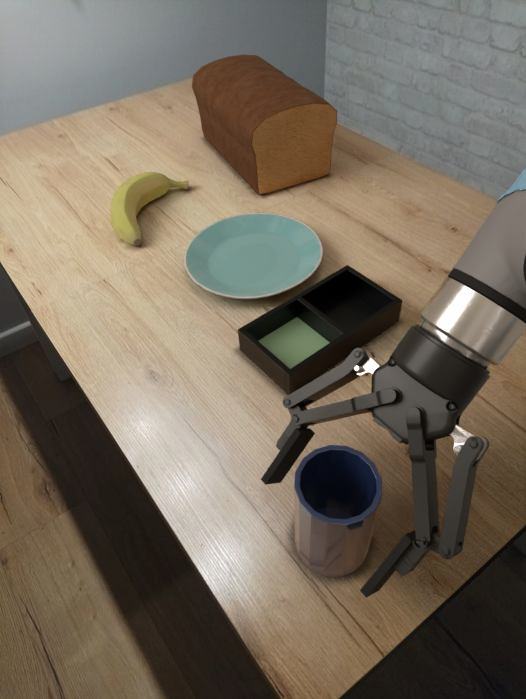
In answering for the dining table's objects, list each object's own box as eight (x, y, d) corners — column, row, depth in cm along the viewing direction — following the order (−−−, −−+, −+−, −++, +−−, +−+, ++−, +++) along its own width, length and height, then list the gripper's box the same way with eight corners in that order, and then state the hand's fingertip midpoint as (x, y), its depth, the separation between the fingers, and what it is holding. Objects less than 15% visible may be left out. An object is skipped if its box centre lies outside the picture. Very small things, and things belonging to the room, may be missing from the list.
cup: (383, 544, 52) (401, 487, 43) (330, 593, 49) (337, 543, 40) (332, 492, 56) (338, 430, 47) (280, 535, 53) (276, 477, 44)
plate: (178, 313, 77) (175, 299, 75) (193, 228, 92) (190, 214, 90) (327, 308, 76) (328, 294, 74) (317, 223, 91) (318, 209, 89)
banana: (83, 187, 89) (171, 156, 100) (84, 213, 93) (169, 180, 105) (134, 232, 85) (220, 194, 97) (133, 257, 89) (215, 218, 101)
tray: (398, 321, 73) (402, 300, 70) (290, 396, 65) (289, 375, 62) (345, 285, 79) (347, 264, 76) (239, 350, 71) (237, 329, 68)
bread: (269, 119, 121) (266, 43, 109) (336, 175, 102) (341, 89, 90) (197, 138, 116) (186, 60, 104) (253, 200, 97) (247, 113, 85)
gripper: (604, 441, 39) (436, 633, 44) (364, 283, 53) (258, 443, 58) (597, 442, 33) (404, 664, 38) (329, 263, 47) (214, 444, 52)
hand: (316, 531), depth 48 cm, fingers open, 13 cm apart
